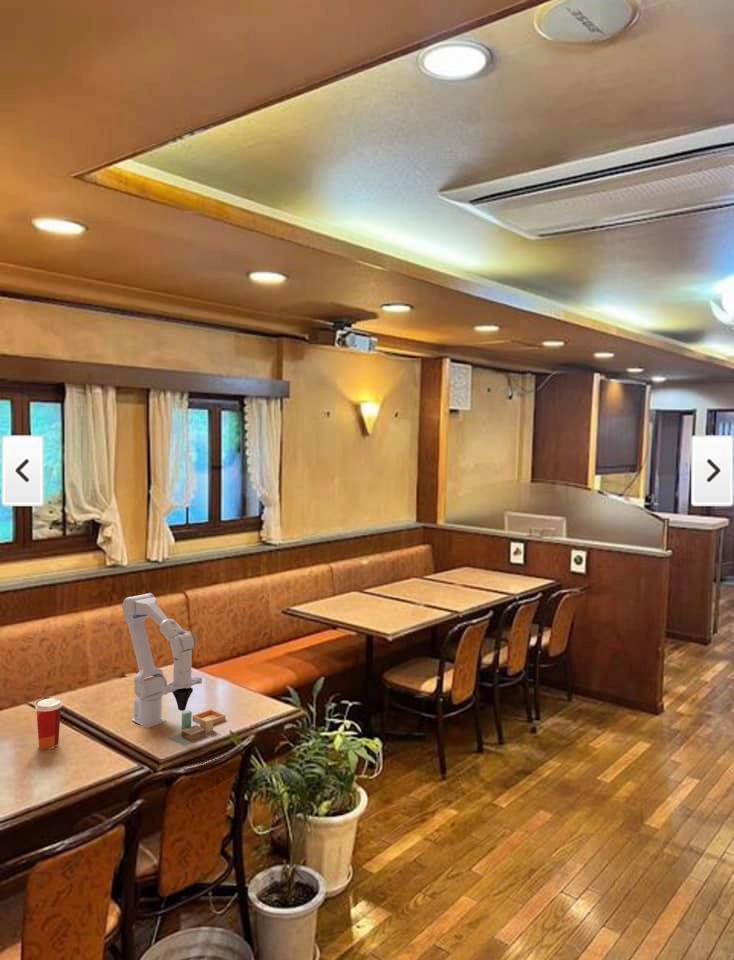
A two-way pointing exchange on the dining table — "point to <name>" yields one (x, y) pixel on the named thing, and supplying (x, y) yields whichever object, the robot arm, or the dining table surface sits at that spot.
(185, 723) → the dowel
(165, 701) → the dining table surface
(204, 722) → the bench
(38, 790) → the dining table surface
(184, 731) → the brown rectangular block
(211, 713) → the tray
